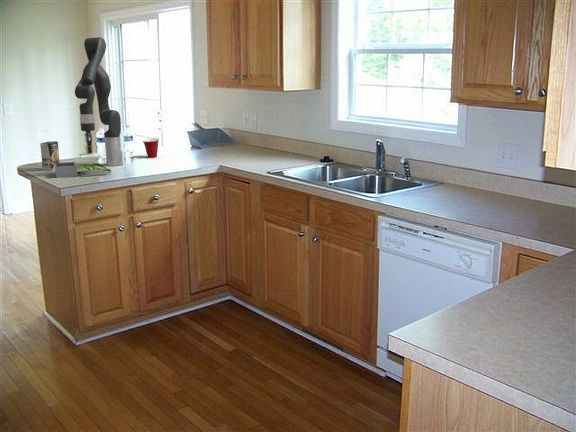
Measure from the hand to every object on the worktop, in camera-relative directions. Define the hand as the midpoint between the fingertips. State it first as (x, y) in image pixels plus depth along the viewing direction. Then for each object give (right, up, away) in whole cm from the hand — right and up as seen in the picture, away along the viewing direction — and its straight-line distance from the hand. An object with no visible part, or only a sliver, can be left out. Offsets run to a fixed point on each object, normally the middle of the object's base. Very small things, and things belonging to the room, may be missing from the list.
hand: (89, 152), depth 351 cm
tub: (-12, -13, -3) cm, 18 cm away
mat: (+2, -12, 0) cm, 12 cm away
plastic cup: (+24, +2, +52) cm, 58 cm away
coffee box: (-27, -9, +14) cm, 31 cm away
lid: (+1, -3, -3) cm, 4 cm away
